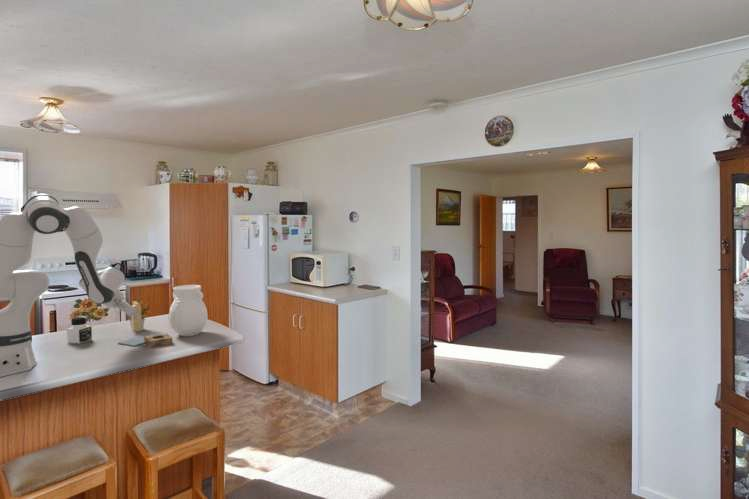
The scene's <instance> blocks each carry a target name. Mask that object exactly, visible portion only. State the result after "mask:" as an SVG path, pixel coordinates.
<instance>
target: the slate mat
mask: <svg viewBox="0 0 749 499" xmlns="http://www.w3.org/2000/svg"><path fill="white" fill-rule="evenodd" d="M117 344H118V345H122V346H128V347H138V346H141V345H146V344H145V341H144V336H143V337H142V336H137V337H133V338H129V339H126V340H123V341H119V342H117Z"/></svg>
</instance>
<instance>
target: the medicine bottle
mask: <svg viewBox="0 0 749 499" xmlns="http://www.w3.org/2000/svg"><path fill="white" fill-rule="evenodd" d="M70 321H71V322H70V323H71V327H68V328H67V327H66V334H67V337H66V338H67V343H68V344H76V343H77V345H78V344H83V343H87V342H89V341H91V340H92V339H93V334H92V333H93V332H92V331H93V330H92V325H88V324H87V323H88V322H87V316H84V315H83V316H81V315H80V316H75V317H72V318H71V319H70Z"/></svg>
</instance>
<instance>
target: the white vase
mask: <svg viewBox="0 0 749 499" xmlns="http://www.w3.org/2000/svg"><path fill="white" fill-rule="evenodd" d="M172 289H173V292H172V297H173V301H172V303H171V305H170V308H169V312H168V322H169V325H170V327H171V329H172V330H173V331H174V332H175V333H177V335H179V336H180V337H193V336H197V335H199V334H200V333H201V331H203V330H204V328H205V326H206V325H207V322H208V320H209V319H208V318H209V315H208V308H207V306H206V304H205V302H204V301H203V298H204V293H203V292H202V290H201V289H202V285H200V284H184V285H177V286H174V287H173V288H172Z"/></svg>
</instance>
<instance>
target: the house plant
mask: <svg viewBox="0 0 749 499" xmlns="http://www.w3.org/2000/svg"><path fill="white" fill-rule="evenodd" d="M135 301H136V302H138V299H136V300H135ZM138 303H139V305H141V318H142V330H141V331H143V330H144V326H145V320H146V318H145V316H143V315H145V314H150V310H149V309H151V307H147V308H144V307H146V305H149V303H150V302H147V303H146V304H144V305H142V304H143V301H140V302H138ZM128 304H129V305H131V306H132V305H133V302H132V303H130V302H128ZM127 316H128V315H127V314H126V313H125V317H127ZM129 321H130V326H131V328H132V317H130V318H129ZM131 331H133V330H132V329H131ZM133 332H134V331H133Z"/></svg>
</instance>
